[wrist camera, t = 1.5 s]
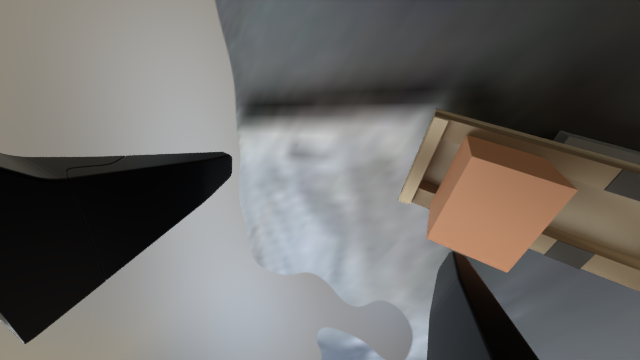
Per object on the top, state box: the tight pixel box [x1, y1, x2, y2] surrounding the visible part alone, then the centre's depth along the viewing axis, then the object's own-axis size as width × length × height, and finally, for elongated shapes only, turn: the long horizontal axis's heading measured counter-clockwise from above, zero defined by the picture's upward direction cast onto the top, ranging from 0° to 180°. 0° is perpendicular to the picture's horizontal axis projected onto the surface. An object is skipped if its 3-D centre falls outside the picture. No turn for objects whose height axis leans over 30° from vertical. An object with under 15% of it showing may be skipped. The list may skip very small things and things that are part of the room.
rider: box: [427, 135, 578, 273], centre depth 14 cm, size 5×4×6 cm
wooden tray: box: [398, 109, 640, 291], centre depth 15 cm, size 7×20×5 cm, turn 78°
